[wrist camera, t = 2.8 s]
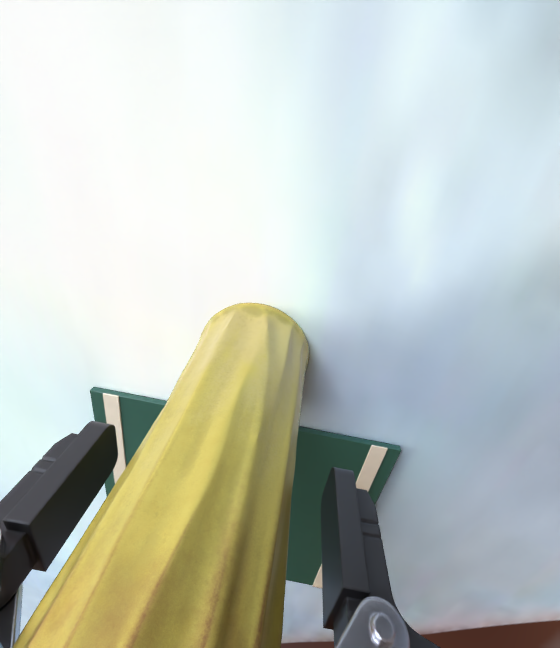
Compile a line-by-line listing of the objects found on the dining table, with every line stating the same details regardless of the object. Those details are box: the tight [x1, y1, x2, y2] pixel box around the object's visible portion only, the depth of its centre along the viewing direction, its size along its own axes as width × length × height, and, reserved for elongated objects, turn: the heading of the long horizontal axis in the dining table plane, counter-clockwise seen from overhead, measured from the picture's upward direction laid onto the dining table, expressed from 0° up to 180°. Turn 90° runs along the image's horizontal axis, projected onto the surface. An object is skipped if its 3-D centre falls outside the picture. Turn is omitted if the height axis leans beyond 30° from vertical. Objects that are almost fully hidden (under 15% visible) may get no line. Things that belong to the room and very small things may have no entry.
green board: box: [90, 387, 401, 588], centre depth 24 cm, size 18×20×1 cm
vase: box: [12, 303, 309, 648], centre depth 11 cm, size 6×6×14 cm
